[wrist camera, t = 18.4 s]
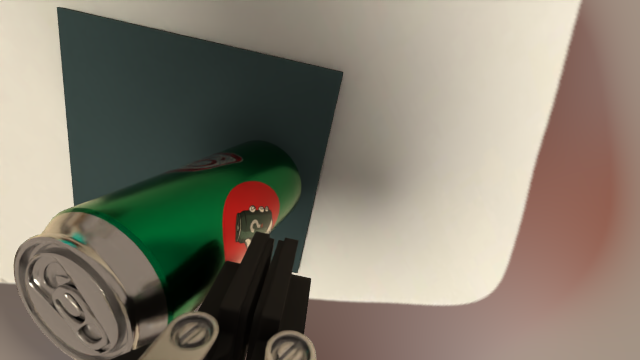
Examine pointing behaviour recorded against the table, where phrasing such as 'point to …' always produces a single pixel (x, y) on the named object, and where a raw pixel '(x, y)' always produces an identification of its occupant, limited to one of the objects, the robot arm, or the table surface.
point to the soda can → (150, 249)
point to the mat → (185, 107)
